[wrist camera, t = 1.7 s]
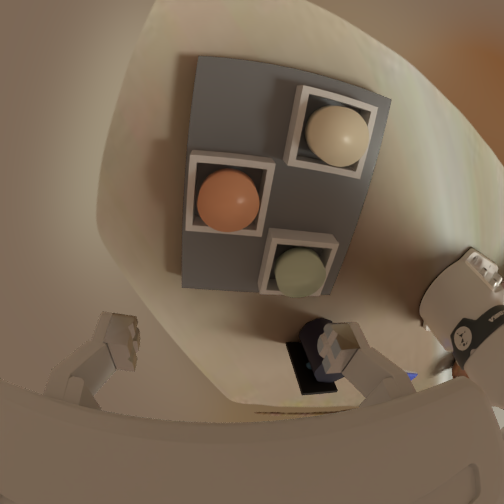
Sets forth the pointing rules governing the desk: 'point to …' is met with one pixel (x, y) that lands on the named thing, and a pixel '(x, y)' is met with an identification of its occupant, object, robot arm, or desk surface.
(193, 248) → the button console
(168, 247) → the desk surface
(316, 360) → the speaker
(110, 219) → the desk surface
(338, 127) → the sand button
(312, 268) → the sage button
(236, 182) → the terracotta button
